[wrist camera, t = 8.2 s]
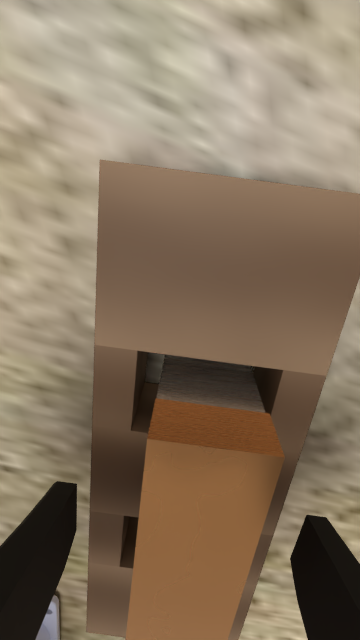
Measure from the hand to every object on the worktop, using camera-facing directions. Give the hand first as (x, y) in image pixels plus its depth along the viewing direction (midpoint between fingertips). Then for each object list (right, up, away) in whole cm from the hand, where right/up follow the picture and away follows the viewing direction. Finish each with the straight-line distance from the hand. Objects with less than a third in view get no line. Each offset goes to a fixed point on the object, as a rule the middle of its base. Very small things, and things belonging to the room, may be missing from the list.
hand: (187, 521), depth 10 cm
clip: (0, +2, +4) cm, 4 cm away
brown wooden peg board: (0, +2, +4) cm, 4 cm away
